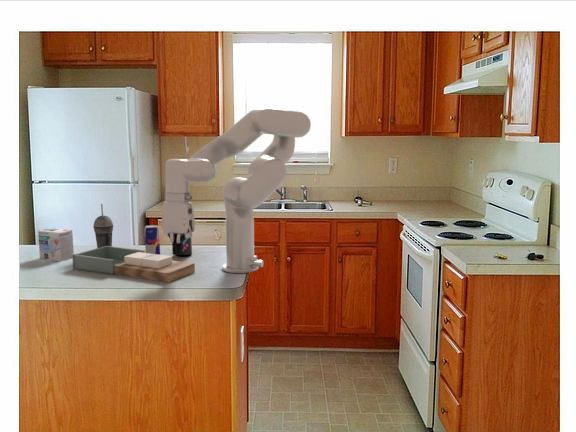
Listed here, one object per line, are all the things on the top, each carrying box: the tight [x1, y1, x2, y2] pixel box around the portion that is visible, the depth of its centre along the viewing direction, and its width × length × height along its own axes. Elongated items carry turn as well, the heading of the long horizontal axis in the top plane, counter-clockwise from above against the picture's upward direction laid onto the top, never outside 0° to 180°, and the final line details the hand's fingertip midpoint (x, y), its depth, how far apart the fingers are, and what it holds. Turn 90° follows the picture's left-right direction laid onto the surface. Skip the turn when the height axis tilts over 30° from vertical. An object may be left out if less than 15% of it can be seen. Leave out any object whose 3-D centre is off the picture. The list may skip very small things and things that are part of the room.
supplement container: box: [174, 236, 193, 258], centre depth 201 cm, size 7×7×10 cm
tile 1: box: [124, 252, 155, 266], centre depth 179 cm, size 7×7×2 cm
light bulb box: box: [37, 227, 75, 262], centre depth 197 cm, size 11×7×11 cm, turn 68°
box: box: [72, 245, 145, 276], centre depth 185 cm, size 18×16×5 cm
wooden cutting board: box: [115, 259, 196, 283], centre depth 177 cm, size 22×14×3 cm, turn 65°
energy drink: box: [144, 224, 161, 255], centre depth 198 cm, size 5×5×12 cm
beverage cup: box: [92, 203, 114, 248], centre depth 199 cm, size 7×7×20 cm
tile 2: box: [142, 254, 173, 268], centre depth 176 cm, size 7×7×2 cm
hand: (177, 254), depth 171 cm, fingers closed
